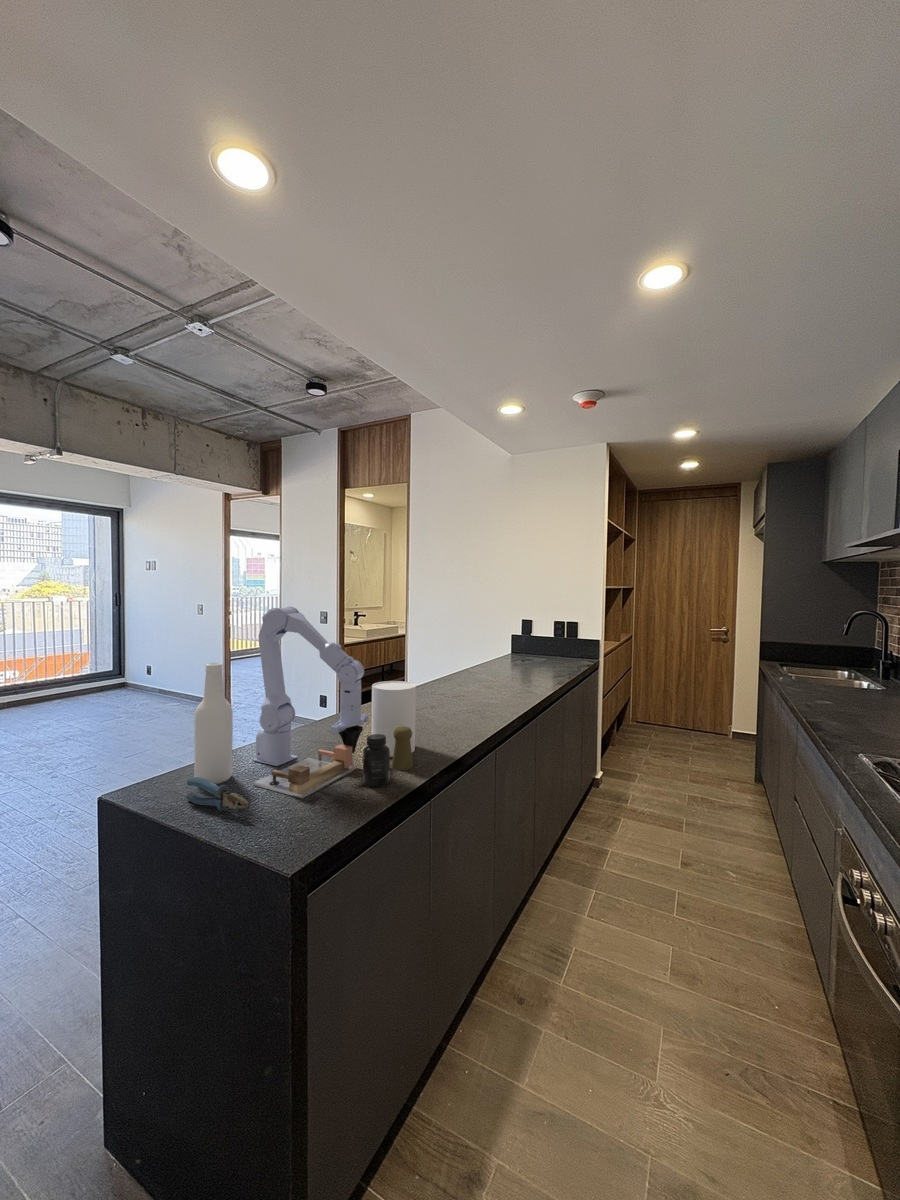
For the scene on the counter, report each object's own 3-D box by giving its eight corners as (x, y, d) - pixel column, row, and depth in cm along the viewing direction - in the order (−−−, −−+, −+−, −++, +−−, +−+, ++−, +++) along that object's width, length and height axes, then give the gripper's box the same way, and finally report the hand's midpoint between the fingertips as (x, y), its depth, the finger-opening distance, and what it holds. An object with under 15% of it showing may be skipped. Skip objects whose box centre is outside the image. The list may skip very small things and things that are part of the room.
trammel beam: (267, 785, 121) (267, 765, 120) (321, 760, 139) (321, 742, 138) (299, 794, 116) (299, 772, 116) (351, 766, 134) (351, 748, 134)
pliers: (251, 818, 106) (251, 791, 106) (242, 822, 104) (242, 795, 104) (193, 797, 115) (193, 772, 115) (184, 801, 113) (184, 775, 113)
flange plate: (253, 785, 123) (253, 781, 123) (308, 760, 141) (308, 757, 141) (302, 798, 116) (302, 794, 116) (353, 770, 134) (354, 767, 134)
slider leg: (315, 761, 136) (315, 743, 136) (322, 758, 139) (322, 740, 139) (345, 768, 132) (345, 749, 132) (352, 764, 134) (352, 746, 134)
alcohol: (213, 771, 131) (213, 660, 131) (239, 775, 129) (240, 662, 128) (186, 783, 123) (186, 665, 122) (214, 788, 120) (214, 667, 120)
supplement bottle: (393, 779, 128) (394, 734, 127) (382, 789, 121) (382, 742, 121) (370, 775, 130) (371, 731, 130) (357, 785, 124) (358, 738, 123)
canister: (423, 747, 154) (424, 684, 153) (396, 759, 142) (397, 691, 142) (390, 739, 161) (391, 679, 160) (361, 750, 150) (362, 686, 149)
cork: (391, 762, 140) (392, 724, 140) (413, 762, 141) (413, 724, 140) (391, 770, 134) (391, 730, 134) (413, 770, 135) (413, 730, 134)
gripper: (346, 712, 128) (345, 763, 129) (377, 701, 141) (376, 747, 142) (324, 709, 131) (324, 759, 132) (357, 698, 144) (356, 743, 145)
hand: (350, 752), depth 137 cm, fingers closed
